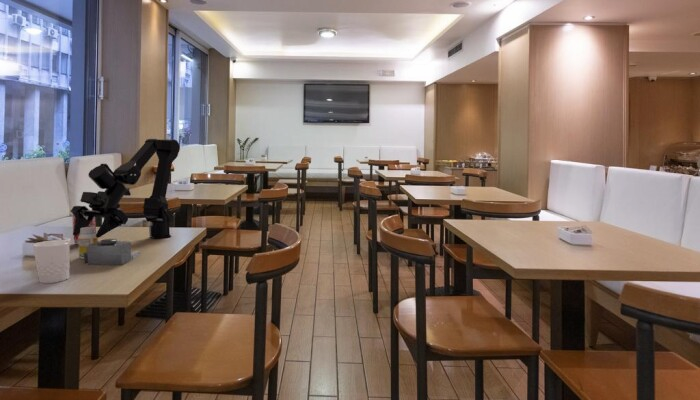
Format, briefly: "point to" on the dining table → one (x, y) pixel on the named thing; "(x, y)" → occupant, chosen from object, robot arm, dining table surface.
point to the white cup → (52, 260)
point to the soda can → (92, 224)
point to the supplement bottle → (86, 239)
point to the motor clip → (109, 252)
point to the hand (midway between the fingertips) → (85, 236)
